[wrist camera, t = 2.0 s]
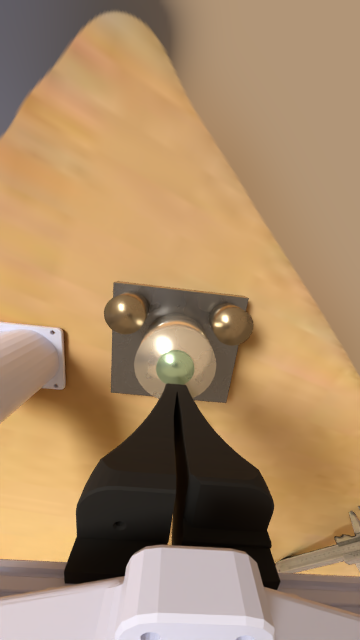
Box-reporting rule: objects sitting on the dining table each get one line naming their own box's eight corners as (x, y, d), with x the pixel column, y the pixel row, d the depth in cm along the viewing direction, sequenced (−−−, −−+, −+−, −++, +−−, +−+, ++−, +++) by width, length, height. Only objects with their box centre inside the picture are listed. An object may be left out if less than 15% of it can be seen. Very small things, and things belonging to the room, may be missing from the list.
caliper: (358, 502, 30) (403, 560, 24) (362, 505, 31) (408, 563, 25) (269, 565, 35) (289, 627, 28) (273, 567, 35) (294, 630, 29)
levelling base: (112, 455, 27) (91, 517, 20) (118, 281, 20) (89, 287, 14) (227, 464, 27) (243, 526, 21) (267, 298, 21) (308, 312, 14)
